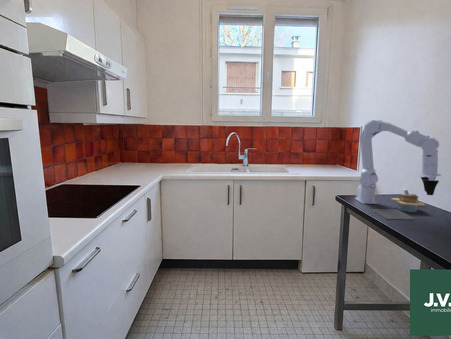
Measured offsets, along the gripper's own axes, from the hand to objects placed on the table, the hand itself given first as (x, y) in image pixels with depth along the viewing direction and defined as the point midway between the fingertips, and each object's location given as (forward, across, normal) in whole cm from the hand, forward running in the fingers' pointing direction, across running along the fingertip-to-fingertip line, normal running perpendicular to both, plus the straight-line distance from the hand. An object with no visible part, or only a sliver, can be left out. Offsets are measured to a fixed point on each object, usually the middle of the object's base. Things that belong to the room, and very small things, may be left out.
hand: (428, 193), depth 123 cm
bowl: (+10, +4, +8) cm, 13 cm away
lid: (+6, +4, +8) cm, 11 cm away
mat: (+9, -9, +14) cm, 19 cm away
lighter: (+10, +17, +6) cm, 21 cm away
